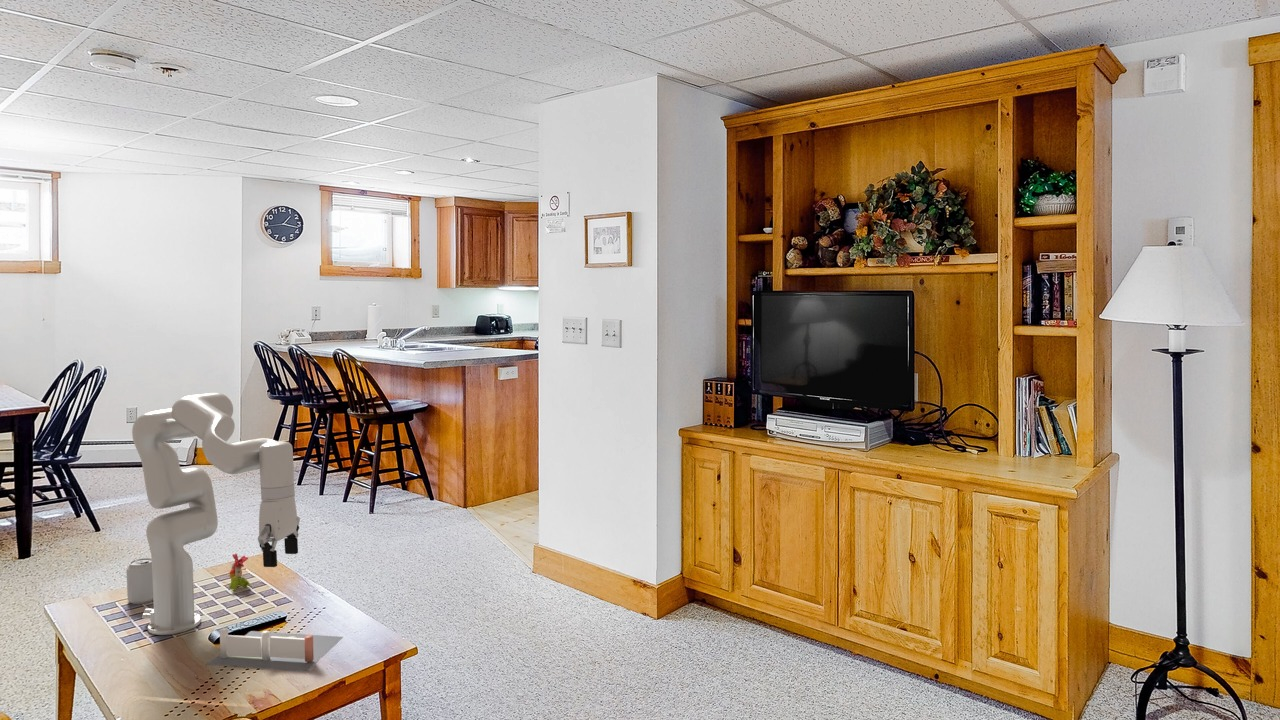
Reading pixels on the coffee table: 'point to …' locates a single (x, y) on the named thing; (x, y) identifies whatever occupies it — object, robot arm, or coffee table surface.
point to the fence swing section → (292, 647)
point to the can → (140, 581)
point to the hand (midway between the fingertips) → (281, 560)
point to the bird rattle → (238, 573)
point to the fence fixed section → (245, 645)
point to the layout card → (319, 647)
